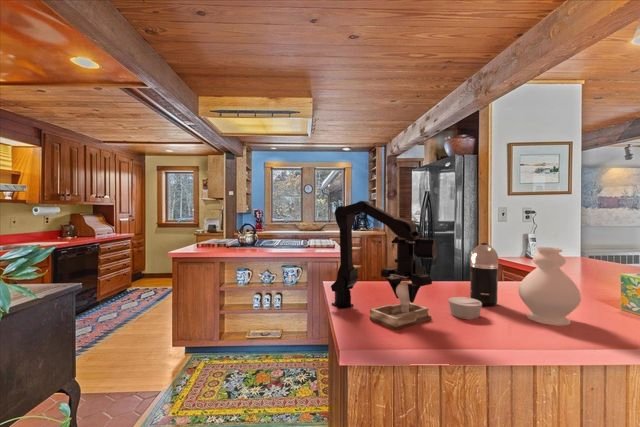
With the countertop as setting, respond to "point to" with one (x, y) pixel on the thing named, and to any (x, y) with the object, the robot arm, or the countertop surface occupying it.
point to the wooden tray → (399, 315)
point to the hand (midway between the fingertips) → (404, 300)
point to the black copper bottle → (484, 275)
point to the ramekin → (465, 307)
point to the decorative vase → (549, 289)
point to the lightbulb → (403, 296)
